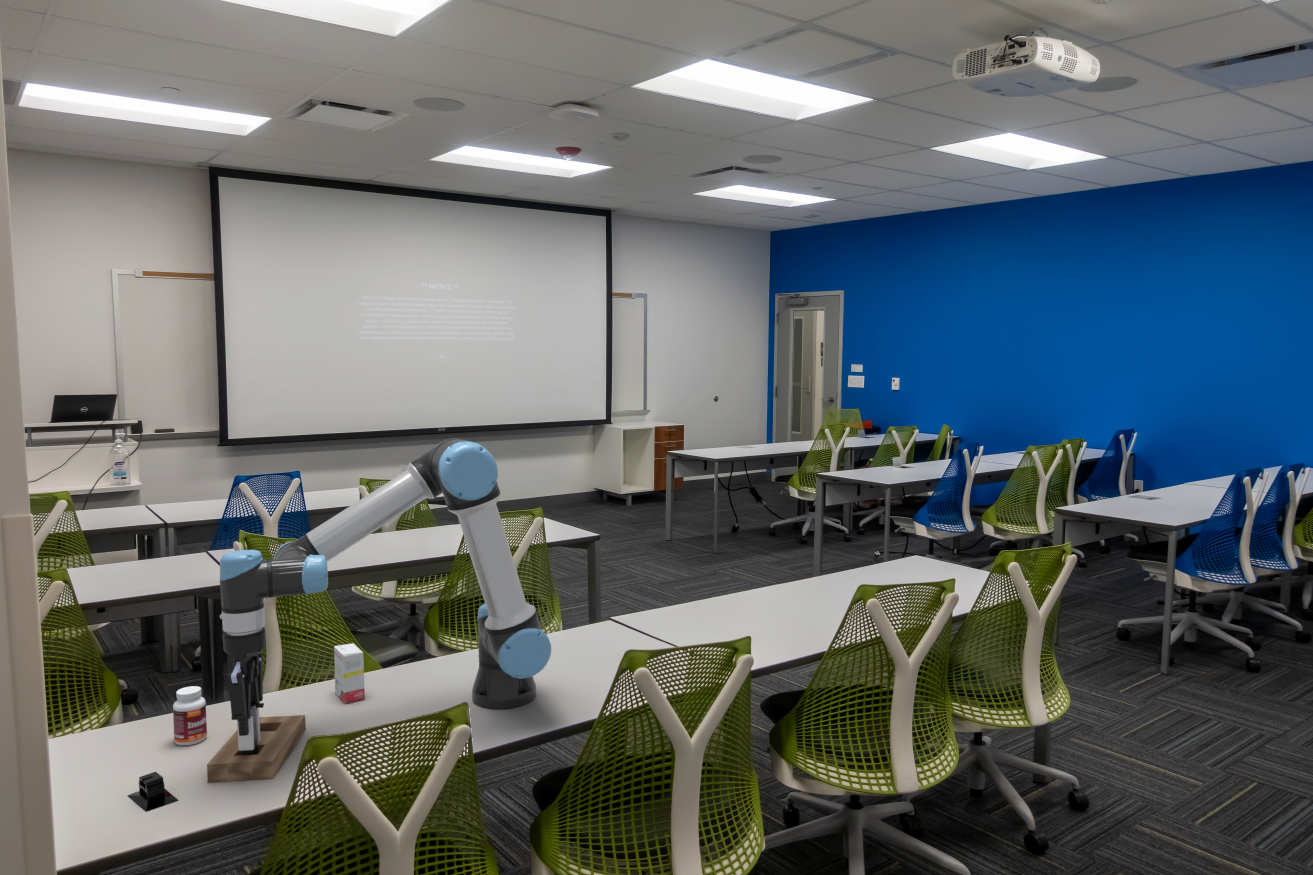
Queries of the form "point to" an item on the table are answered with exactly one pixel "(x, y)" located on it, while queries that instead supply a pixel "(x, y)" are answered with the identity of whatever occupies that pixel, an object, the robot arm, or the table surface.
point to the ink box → (349, 672)
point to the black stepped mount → (152, 793)
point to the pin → (255, 750)
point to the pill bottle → (189, 716)
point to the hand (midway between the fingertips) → (249, 745)
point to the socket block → (272, 751)
